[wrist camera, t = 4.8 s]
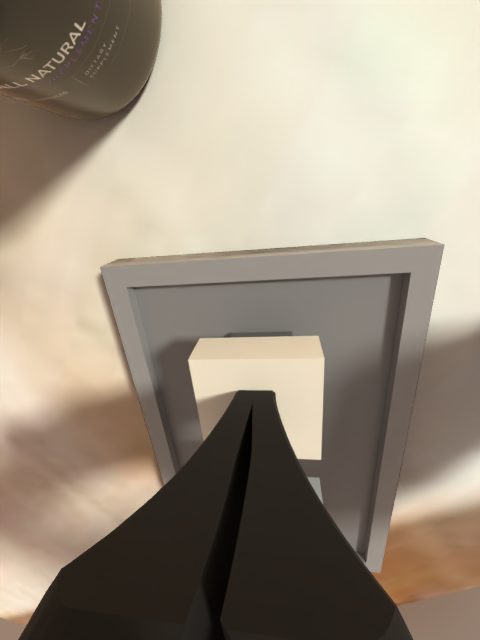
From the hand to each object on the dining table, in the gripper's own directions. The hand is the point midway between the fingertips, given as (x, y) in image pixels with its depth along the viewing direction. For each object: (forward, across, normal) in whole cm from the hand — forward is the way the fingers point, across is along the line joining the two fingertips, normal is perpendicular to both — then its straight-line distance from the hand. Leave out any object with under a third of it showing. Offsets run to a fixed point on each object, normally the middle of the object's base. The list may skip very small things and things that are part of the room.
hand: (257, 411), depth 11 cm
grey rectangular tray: (+5, 0, +6) cm, 8 cm away
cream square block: (+4, 0, 0) cm, 4 cm away
